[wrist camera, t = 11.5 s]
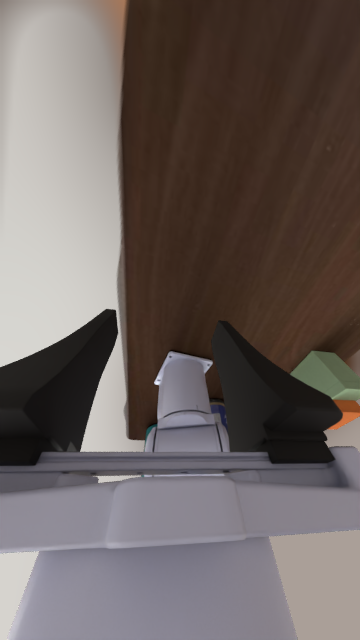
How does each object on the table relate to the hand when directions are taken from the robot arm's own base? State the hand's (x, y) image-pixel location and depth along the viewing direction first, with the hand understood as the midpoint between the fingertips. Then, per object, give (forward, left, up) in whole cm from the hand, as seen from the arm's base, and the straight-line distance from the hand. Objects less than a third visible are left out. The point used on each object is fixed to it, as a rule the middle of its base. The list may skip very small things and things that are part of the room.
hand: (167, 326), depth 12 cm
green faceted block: (-10, -31, -9) cm, 33 cm away
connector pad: (-10, -31, -3) cm, 32 cm away
